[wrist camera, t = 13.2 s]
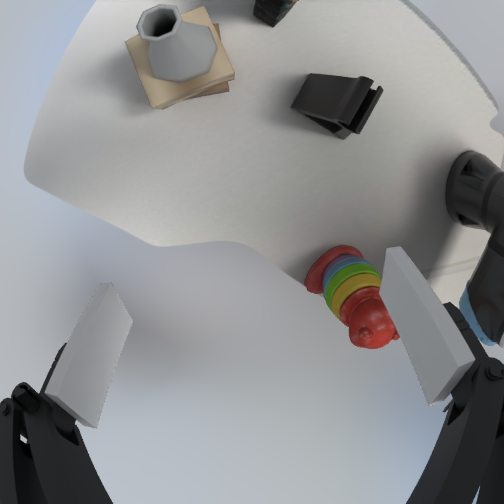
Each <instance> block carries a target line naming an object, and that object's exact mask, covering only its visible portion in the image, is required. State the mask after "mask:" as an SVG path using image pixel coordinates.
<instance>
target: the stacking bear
mask: <svg viewBox="0 0 504 504" xmlns="http://www.w3.org/2000/svg"><path fill="white" fill-rule="evenodd" d="M381 281H382V279H381V277H380V275H379V273H378V272H377V270H376V269H375V268H374V267H373V266H372V265H371V264H370V263H368V262H367V261H365V260H364V259H363V256H362V254H361V253H360V252H359V251H358V250H357V249H355V248H353V247H351V246H339V247H335V248H333V249H331V250H329V251H328V252H327V253H325V254H324V255H323V256H321V257H320V258H319V259H318V260H317V261H316V263H315V264H314V265H313V266H312V268H311V269H310V271H309V273H308V274H307V277H306V279H305V286H306V287H307V290H308V291H309V292H311V293H315V294H319V293H324V297H325V300H326V303H327V305H328V307H329V308H330V310H331V311H332V312H333V314H335V316H336V317H337V318H338V319H339V320H340V321H341V322H342V323H344V325H346V326H348V327H349V337H350V340H351V342H352V343H353V344H354V345H355V346H357V347H360V348H368V349H377V348H381V347H383V346H385V345H386V344H388V343H389V342H390V341H391V340H392V339H393V340H397V339H399V337H400V336H399V333H398V331H397V329H396V327H395V325H394V323H393V321H392V319H391V317H390V315H389V312H388V310H387V308H386V306H385V304H384V302H383V300H382V299H381V297H380V295H379V292H380V286H381Z"/></svg>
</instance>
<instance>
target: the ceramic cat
mask: <svg viewBox="0 0 504 504" xmlns="http://www.w3.org/2000/svg"><path fill="white" fill-rule="evenodd" d="M297 1H299V0H256V3H255V6H254V13H253V15H254V16H256V17H257V18H259V19H260V20H262V21H264V22H265V23H267V24H269V25H270V26H272V27H274V26H275V25H276V24H277V23H278V22H279V21H280V20H281V19H282V18H284V17H285V15H286V14H287V13H288V12H289V11H290V9H291V8H292V7H293V6H294V4H295V3H296V2H297Z"/></svg>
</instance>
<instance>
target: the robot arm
mask: <svg viewBox="0 0 504 504" xmlns="http://www.w3.org/2000/svg"><path fill="white" fill-rule="evenodd" d="M446 203H447V208H448V211H449V213H450V215H451V217H452V218H453V219H454V220H455V221H457V222H458V223H460V224H461V225H463V226H465V227H470V228H476V229H482V230H486V231H488V232H489V233H491V236H490V238H489V241H488V243H487V245H486V247H485V249H484V252H483V254H482V256H481V258H480V260H479V262H478V264H477V266H476V268H475V270H474V272H473V274H472V276H471V278H470V280H468V282H467V284H466V288H465V290H464V292H463V294H462V296H461V298H460V301H459V309H458V308H457V307H456V306H454V305H453V304H452V303H451V302H448V303H445V304H442V302H441V301H440V299H439V298H438V297H437V295H436V294H435V292H434V291H433V289H432V288H431V286H430V285H429V283H428V282H427V281H426V279H425V278H424V276H423V275H422V274H421V272H420V271H419V270H418V268H417V267H416V266H415V264H414V263H413V262H412V260H411V259H410V258H409V256H408V255H407V254H406V252H405V251H404V250H403V249H402V247H401V246H398V247H391V248H386V255H385V262H384V269H383V275H382V281H381V286H380V292H379V295H380V297H381V299H382V300H383V302H384V304H385V306H386V308H387V310H388V312H389V315H390V317H391V319H392V321H393V323H394V325H395V327H396V329H397V331H398V333H399V336H400V338H401V340H402V342H403V344H404V347H405V349H406V351H407V353H408V356H409V358H410V360H411V363H412V365H413V367H414V370H415V372H416V375H417V377H418V380H419V382H420V385H421V387H422V390H423V392H424V395H425V398H426V400H427V403H428V406H431V405H434V404H436V403H439V402H441V401H444V400H445V399H446V398H447V396H448V395H449V394H450V393H451V394H452V397H453V399H452V400H451V402H450V403H449V404H448V405H447V406H446V407H445V409H444V411H443V412H446V411H447V410H448V412H447V416H446V418H445V421H444V424H443V427H442V430H441V432H440V435H439V437H438V440H437V442H436V445H435V447H434V450H433V452H432V454H431V456H430V459H429V461H428V463H427V465H426V467H425V469H424V471H423V473H422V476H421V478H420V479H419V481H418V483H417V485H416V487H415V489H414V490H413V492H412V494H411V496H410V498H409V499H408V501H407V503H406V504H472V502H473V500H474V498H475V495H476V493H477V491H478V488H479V486H480V490H479V494H478V498H477V502H476V504H504V364H502V363H501V362H500V361H499V360H497V359H495V358H491V357H488V355H487V354H486V352H485V350H484V348H483V347H482V345H481V343H480V341H481V342H482V343H483V344H485V345H488V346H493V345H495V344H498V345H499V346H500V347H501V348H503V347H504V172H503V171H502V170H501V169H500V168H499V167H497V166H496V165H495V164H494V163H493V162H492V161H491V160H490V159H489V158H487V157H486V156H484V155H483V154H480V153H477V152H473V151H469V152H466V153H464V154H462V155H461V156H460V157H459V158H458V159H457V160H456V162H455V163H454V165H453V167H452V169H451V171H450V174H449V177H448V180H447V186H446ZM132 322H133V320H132V319H131V317H130V315H129V313H128V312H127V310H126V308H125V306H124V304H123V303H122V301H121V299H120V297H119V295H118V293H117V291H116V289H115V288H114V286H113V284H112V282H110V283H101V284H100V285H99V287H98V288H97V290H96V292H95V293H94V295H93V296H92V298H91V300H90V302H89V303H88V305H87V307H86V309H85V310H84V312H83V314H82V316H81V318H80V320H79V321H78V323H77V325H76V327H75V329H74V331H73V333H72V335H71V336H70V339H69V340H68V342H67V343H65V344H64V345H63V346H62V348H61V349H60V350H59V351H58V353H57V355H56V358H55V361H54V362H53V364H52V368H50V370H49V372H48V375H47V377H46V379H45V381H44V384H43V386H42V388H41V391H40V393H39V394H38V393H37V392H36V391H35V390H34V389H33V388H32V387H31V386H30V385H29V384H27V383H25V382H22V383H20V384H18V385H17V386H16V387H15V389H14V390H13V392H12V395H11V398H6V399H4V400H3V401H2V402H1V403H0V504H113V502H112V501H111V499H110V497H109V495H108V493H107V492H106V490H105V488H104V486H103V484H102V482H101V480H100V478H99V476H98V474H97V472H96V470H95V468H94V465H93V463H92V461H91V458H90V456H89V454H88V451H87V449H86V447H85V444H84V442H83V439H82V436H81V434H80V431H79V429H78V427H77V425H75V421H76V420H77V421H79V422H80V423H81V424H83V425H84V426H88V427H92V428H97V426H98V422H99V419H100V416H101V412H102V408H103V405H104V402H105V399H106V396H107V392H108V389H109V386H110V383H111V380H112V377H113V374H114V371H115V368H116V365H117V363H118V360H119V357H120V354H121V351H122V349H123V346H124V343H125V340H126V338H127V335H128V333H129V330H130V327H131V325H132ZM478 338H479V339H480V341H479V340H478ZM20 434H21V435H22V436H23V437H25V438H26V439H27V443H24V442H23V441H21V440H20ZM480 483H481V484H480Z"/></svg>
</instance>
